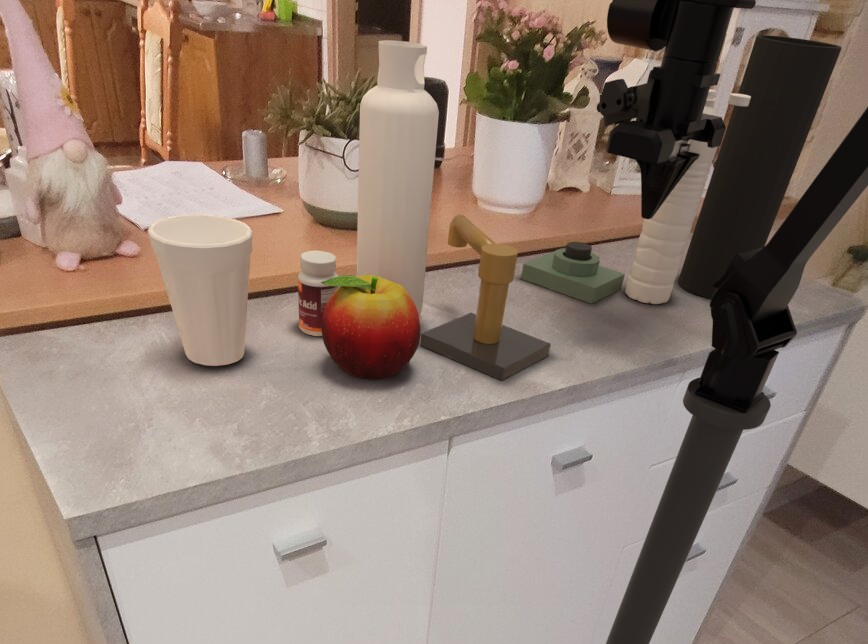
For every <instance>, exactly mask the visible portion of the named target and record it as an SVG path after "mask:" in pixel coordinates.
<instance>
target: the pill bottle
mask: <svg viewBox="0 0 868 644" xmlns="http://www.w3.org/2000/svg"><path fill="white" fill-rule="evenodd" d="M299 262H300V266H299V267H300V270H301V271H300V272H299V273H298V275H297V296H298V297H297V299H298V300H297V301H298V304H297V305H298V327H299V329H300V330H301V331H302V332H303V333H304V334H306V335H309V336H313V337H322V330H321V329H322V318H323V313H324V309H325V306H326V304H327V302H328V300H329V299H330V297H331V296H332V295H333V294H334V292H335V291H336V290H337V289H338V288H339V287H340V286H335V287H334V286H327V285H324V284H322V283H320V282H323V281H326V280H328V279H331V278H334V277H339V274H338V273H337V272H336V271H337V257H336V255H334V254H333V253H331V252H329V251H324V250H307V251H304V252H302V253H301V254H300V261H299Z"/></svg>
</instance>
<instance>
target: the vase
mask: <svg viewBox="0 0 868 644" xmlns="http://www.w3.org/2000/svg"><path fill="white" fill-rule="evenodd" d="M841 51H842V46H840V45H837V44H833V43H829V42H824V41H817V40H811V39H804V38H796V37H791V36H790V37H789V36H779V35H767V34H758V35H756V37H755V40H754V43H753V46H752V49H751V52H750V55H749V57H748V60H747V61H748V62H747V65H746V68H745V71H744V73H743V77H742V80H741V83H740V86H739V89H738V92H737V94H744V95H748V96H751V99H750V102H749V105H748V106H736V105H733V108H732V111H731V115H730V118H729V121H728V124H727V126H726V130H725V133H724V136H723V139H722V142H721V145H720V149H719V152H718V155H717V158H716V162H715V164H714V166H713V167H714V168H713V170H712V173H711V177H710V180H709V183H708V186H707V189H706V193H705V194H704V195H705V196H704V199H703V201H702V205H701V207H700V211H699V214H698V217H697V220H696V223H695V225H694V226H695V227H694V230H693V232H692V236H691V239H690V242H689V245H688V248H687V252H686V255H685V258H684V261H683V264H682V267H681V270H680V273H679V276H678V279H677V282H678V284H679V287H680V288H682V289H684V290H685V291H687V292H689V293H691V294H693V295H696V296H699V297H702V298H705V299H709V300H711V298H712V296H713V294H714V292H715V291H716V290H717V289H718V288H715V287H713V284H714V283H716V282H717V281H719V280H720V279H721V278H722V276H723V275H724V274H725V272H726V271H727V269H728V267H729V265H730V263H731V261H732V259H733V258H734V257H735V255H736V254H738V253H742V252H746V251H750V250H755V249H759V248H763V247H765V246H766V245H767V243H768V242H767V241H768V239H769V237H770V233H771V231H772V229H773V226H774V223H775V221H776V218H777V216H778V214H779V210H780V208H781V205H782V203H783V200H784V197H785V195H786V193H787V190H788V187H789V186H790V182H791V180H792V177H793V174H794V172H795V170H796V167H797V165H798V162H799V159H800V156H801V154H802V151H803V149H804V146H805V144H806V141H807V138H808V136H809V133H810V131H811V129H812V125H813V123H814V121H815V118H816V115H817V113H818V110H819V108H820V105H821V102H822V100H823V98H824V95H825V92H826V89H827V87H828V85H829V82H830V79H831V77H832V74H833V72H834V69H835V66H836V64H837V62H838V59H839V56H840V53H841Z"/></svg>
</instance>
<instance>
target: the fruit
mask: <svg viewBox="0 0 868 644" xmlns="http://www.w3.org/2000/svg"><path fill="white" fill-rule="evenodd" d="M320 283H322V284H324V285H327V286H334V287H335V286H339V288H338V289H337V290H336V291H335V292H334V294H333V295H332V296H331V297H330V299H329V300H328V302H327V304H326V306H325V309H324V313H323V318H322V329H321V330H322V336H321V338H322V341H323V345H324V347H325V349H326V351H327V353H328V355H329V356H330V357H331V359H332V361H333V362H334V363H335V364H336V366H338V367H339V369H342V370H343V371H344V372H346V373H348V374H349V375H351V376H354V377H356V378H361V379H369V380H378V379H385V378H388V377H391V376H393V375H395V374H397V373H398V372H400V371H401V370H403V369H404V368H406V366H408V364H409V363H410V361H411V360H412V358H413V357H414V356H415V353H416V352H417V350H418V347H419V345H420V342H421V330H420V329H421V328H422V327H421V328H420V320H419V314H418V311H417V308H416V305H415V303H414V301H413V300H412V298H411V296H410V295H409V293H408V292H407V291H406V290H405V289H404V287H403V286H401V285H400V284H397V283H395V282H392V281H389V280H387V279H384V278H381V277H379V276H374V275H360V276H357V277H356V275H349V274H348V275H347V274H346V275H340V276H339V275H338V277H334V278H331V279H328V280H326V281H323V282H320Z"/></svg>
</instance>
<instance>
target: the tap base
mask: <svg viewBox="0 0 868 644" xmlns="http://www.w3.org/2000/svg"><path fill="white" fill-rule="evenodd" d="M509 286H510V283H507V284H493V283H489V282H486V281H483V280H481V279H480V284H479V291H478V297H477V306H476V313H473V312H469V313H467V314H463V315H462V316H460V317H457V318H455V319H453V320H450V321H448V322H446V323H442V324H440V325H438V326H436V327H434V328H431V329H428V330H427V331H424V332H421V333H420V343H419V345H420V346H421V347H423V348H425V349H428V350H429V351H433V352H435V353H436V354H439V355H442V356H444V357H446V358H449V359H451V360H453V361H455V362H457V363H460V364H462V365H465V366H467V367H469V368H472V369H474V370H476V371H478V372H481V373H483V374H486V375H488V376H490V377H493V378H495V379H497V380H499V381H505V380H507V379H508V378H509V377H512V376H513V375H515V374H517V373H519V372H521V371H523V370H524V369H526V368H528V367H530V366H532V365H533V364H535V363H537V362H539V361H541V360H543V359H545V358H546V357H549V355H550V350H551V344H552V343H550V342H548V341H545V340H542V339H540V338H537V337H535V336H532V335H530V334H527V333H525V332H522V331H519V330H516V329H514V328H512V327H509V326H506V325H503V324H504V317H505V311H506V305H507V299H508V293H509V288H510V287H509Z"/></svg>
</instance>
